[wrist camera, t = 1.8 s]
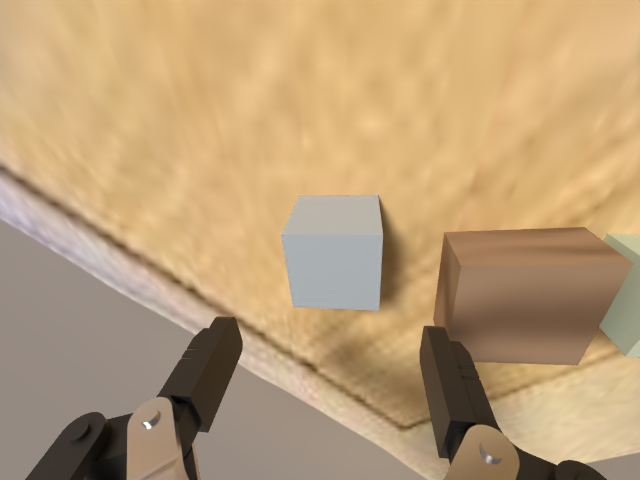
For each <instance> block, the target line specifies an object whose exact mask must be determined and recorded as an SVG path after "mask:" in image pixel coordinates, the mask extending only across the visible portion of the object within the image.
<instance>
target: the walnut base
mask: <svg viewBox="0 0 640 480" xmlns="http://www.w3.org/2000/svg"><path fill="white" fill-rule="evenodd" d="M633 264H634V263H632V262H631V261H630V260H628V259H627V258H626V257H624V256H623V255H621V254H620V253H619V252H617V251H616V250H615V249H613V248H612V247H611V246H609V245H608V244H606V243H605V242H604V241H602V240H601V239H600V238H598V237H597V236H596V235H594V234H593V233H591V232H590V231H589V230H587V229H586V228H585V227H579V228H550V229H522V230H494V231H466V232H444V239H443V247H442V255H441V263H440V271H439V279H438V287H437V295H436V303H435V310H434V318H433V320H434V324H435V326H439V327H445V329H446V331H447V334H448V337H449V340H450V341H460V342H461V344H462V345H463V346H464V347H465V348H466V349H467V351H468V352H469V353H470V355H471V358H472V360H473V362H497V363H525V364H553V365H578V364H579V362H580V360H581V359H582V357H583V355H584V353H585V351H586V349H587V348H588V346H589V344H590V342H591V340H592V339H593V337H594V335H595V333H596V331H597V329H598V328H599V326H600V324H601V322H602V320H603V319H604V317H605V315H606V313H607V311H608V310H609V308H610V306H611V304H612V302H613V300H614V299H615V297H616V295H617V293H618V291H619V290H620V288H621V286H622V284H623V282H624V281H625V279H626V277H627V275H628V273H629V271H630V270H631V268H632V266H633Z"/></svg>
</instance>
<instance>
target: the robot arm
mask: <svg viewBox="0 0 640 480" xmlns="http://www.w3.org/2000/svg"><path fill="white" fill-rule="evenodd" d="M242 346H243V342H242V338H241V334H240V331H239V328H238V324H237V321H236V319H235V317H220V316H218V317H216V318H215V319H214V321H213V322H212V324H211V326H210V327H209V328H204V329H203V330H202V331H200V332H199V333H198V334H197V335H196V336H195V337H194V338H193V340H192V341H191V343H190V344H189V346H188V348H187V351H185V353H184V354H183V356H182V359H181V360H180V361H179V362H178V364H177V366H176V367H175V368H174V370H173V372H172V373H171V375H170V377H169V378H168V380H167V382H166V383H165V385H164V386H163V388H162V389H161V391H160V393H159V394H158V395H157V397H156V398H153V399H150V400H148V401H146V402H145V403H144V404H142V405H141V406H140V407H139V408H138V409H137V410H136V411H135V412H134V413H131V414H127V415H124V416H119V417H115V418H112V419H106V418H105V417H104V416H103V415H102V414H101V413H99V412H91V413H88V414H85V415H83V416H81V417H79V418H77V419H76V420H74V421H73V422H72V423H70V424H69V425H68V426H67V427H66V428H65V429H64V430H63V432H62V433H61V434H60V435H59V436H58V438H57V439H56V440H55V442H54V443H53V444H52V446H51V447H50V448H49V450H48V451H47V452H46V453H45V455H44V456H43V457H42V459H41V460H40V461H39V463H38V464H37V465H36V466H35V468H34V469H33V470H32V472H31V473H30V474H29V475H28V477H27V478H26V479H25V480H201V478H200V472H199V466H198V460H197V455H196V449H195V444H194V439H195V437H196V435H197V432H209V429H210V427H211V425H212V422H213V420H214V417H215V415H216V413H217V410H218V408H219V406H220V403H221V401H222V398H223V396H224V394H225V391H226V389H227V386H228V384H229V381H230V379H231V377H232V374H233V372H234V370H235V367H236V365H237V363H238V360H239V358H240V355H241V352H242ZM420 365H421V371H422V376H423V380H424V385H425V390H426V395H427V400H428V405H429V410H430V415H431V420H432V425H433V430H434V435H435V440H436V445H437V449H438V454H439V458H448V459H449V463H450V468H449V470H448V472H447V474H446V476H445V478H444V480H607V479H606V478H604V477H603V476H602V475H601V474H600V473H598V472H597V471H596V470H594V469H593V468H591V467H589V466H587V465H586V464H583V463H581V462H578V461H574V460H566V461H562V462H560V463H559V464H558V465H555V464H553V463H550V462H548V461H546V460H543V459H541V458H538V457H536V456H533V455H531V454H529V453H527V452H525V451H523V450H521V449H519V448H518V447H517V446H515V445H514V444H513V443H512V442H511V441H510V440H509V439H508V438H507V437H506V436H505V435H504V434H503V433H502V431H501V430H500V428H499V427H498V425H497V422H496V420H495V417H494V415H493V412H492V410H491V407H490V404H489V402H488V399H487V397H486V394H485V391H484V389H483V386H482V384H481V381H480V380H479V376H478V373H477V371H476V369H475V365H474V363H473V360H472V358H471V355H470V353H469V352H468V351H467V349H466V348H465V347H464V346H463V345H462V344H461V342H460V341H450V340H449V337H448V334H447V331H446V329H445V327H439V326H424V329H423V334H422V341H421V347H420Z"/></svg>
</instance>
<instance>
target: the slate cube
mask: <svg viewBox="0 0 640 480" xmlns="http://www.w3.org/2000/svg"><path fill="white" fill-rule="evenodd" d="M281 235H282V241H283V247H284V253H285V259H286V266H287V272H288V278H289V284H290V290H291V297H292V303H293V307H301V308H326V309H351V310H376V311H379V303H380V284H381V265H382V246H383V230H382V222H381V214H380V206H379V198H378V195H335V196H299V198H298V200H297V203H296V205H295V207H294V209H293V211H292V213H291V215H290V217H289V219H288V222H287V224H286V226H285V228H284V230H283V232H282V234H281Z"/></svg>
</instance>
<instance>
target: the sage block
mask: <svg viewBox="0 0 640 480" xmlns="http://www.w3.org/2000/svg"><path fill="white" fill-rule="evenodd" d="M603 241H604V242H605V243H606V244H608V245H609V246H611V247H612V248H613V249H615V250H616V251H617V252H619V253H620V254H621V255H623V256H624V257H626V258H627V259H628V260H630V261H631V262H632V263H634V264H633V266H632V268H631V270H630V271H629V273H628V275H627V277H626V279H625V281H624V282H623V284H622V286H621V288H620V290H619V291H618V293H617V295H616V297H615V299H614V300H613V302H612V304H611V306H610V308H609V310H608V311H607V313H606V315H605V317H604V319H603V320H602V322H601V324H600V326H599V328H600V329H601V330H602V331H603V332H604V333H605V334H606V336H607V337H608V338H609V339H610V340H611V341H612V342H613V343H614V344H615V346H616V347H617V348H618V349H619V350H620V351H621V352H622V353H623V354H624V355H625V356H627V357H638V358H640V235H633V234H613V233H607V234H606V236H605V238H604V239H603Z"/></svg>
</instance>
